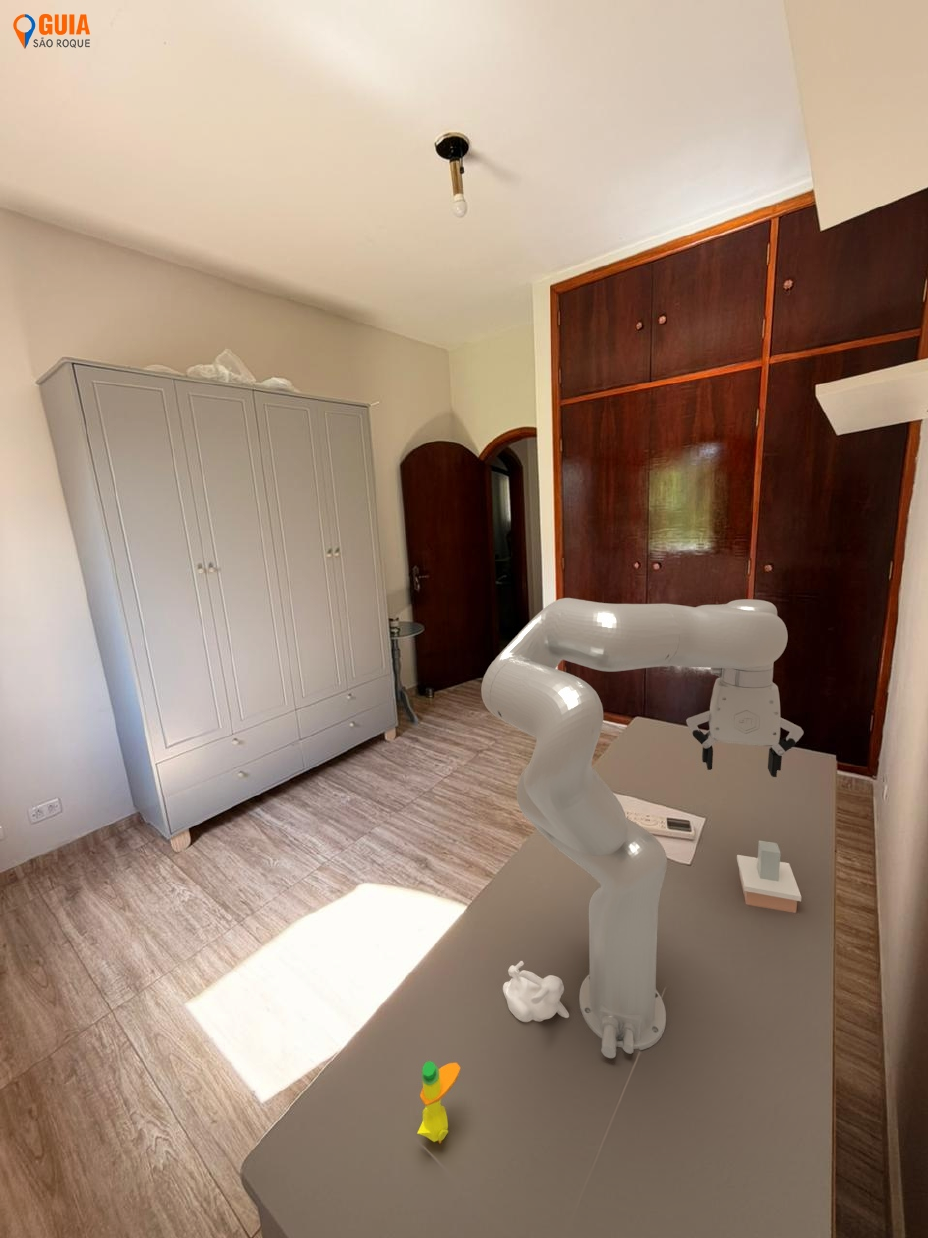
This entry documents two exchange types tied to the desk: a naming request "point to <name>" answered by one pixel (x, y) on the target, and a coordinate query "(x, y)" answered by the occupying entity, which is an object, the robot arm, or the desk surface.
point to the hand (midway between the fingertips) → (739, 769)
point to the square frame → (769, 901)
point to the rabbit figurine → (533, 995)
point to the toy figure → (436, 1098)
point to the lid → (768, 873)
